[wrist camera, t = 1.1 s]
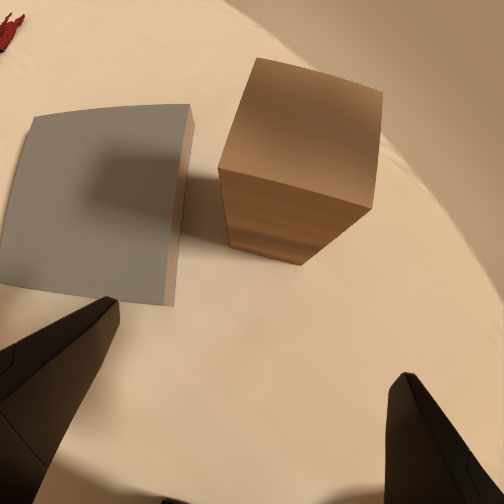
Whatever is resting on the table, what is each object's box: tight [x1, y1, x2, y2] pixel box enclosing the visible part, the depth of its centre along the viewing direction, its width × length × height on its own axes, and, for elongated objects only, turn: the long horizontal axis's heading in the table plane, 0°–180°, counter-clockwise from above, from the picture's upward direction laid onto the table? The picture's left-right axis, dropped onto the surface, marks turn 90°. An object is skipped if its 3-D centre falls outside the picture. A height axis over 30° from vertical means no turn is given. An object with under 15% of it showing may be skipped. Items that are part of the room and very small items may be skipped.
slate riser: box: [0, 104, 195, 307], centre depth 21 cm, size 14×14×3 cm
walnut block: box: [218, 58, 383, 266], centre depth 17 cm, size 5×5×13 cm
